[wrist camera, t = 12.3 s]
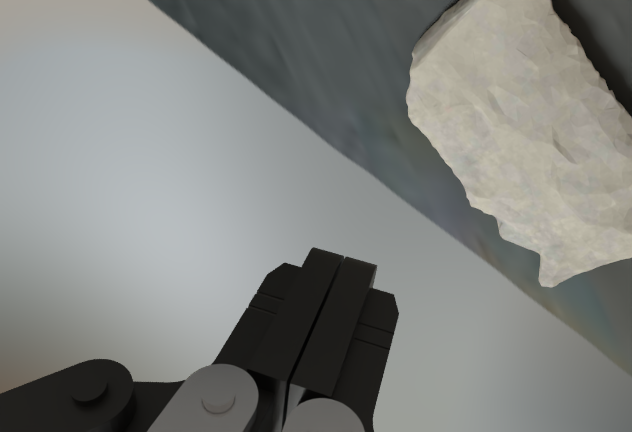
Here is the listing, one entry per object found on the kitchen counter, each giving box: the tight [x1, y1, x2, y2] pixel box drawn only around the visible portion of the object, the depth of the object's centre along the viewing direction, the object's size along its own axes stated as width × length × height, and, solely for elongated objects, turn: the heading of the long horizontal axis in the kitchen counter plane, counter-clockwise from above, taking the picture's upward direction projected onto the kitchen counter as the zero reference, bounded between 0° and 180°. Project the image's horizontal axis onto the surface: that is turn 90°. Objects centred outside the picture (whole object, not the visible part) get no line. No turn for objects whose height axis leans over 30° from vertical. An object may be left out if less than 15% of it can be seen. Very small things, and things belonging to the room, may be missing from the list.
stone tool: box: [406, 0, 632, 287], centre depth 39 cm, size 13×4×25 cm
